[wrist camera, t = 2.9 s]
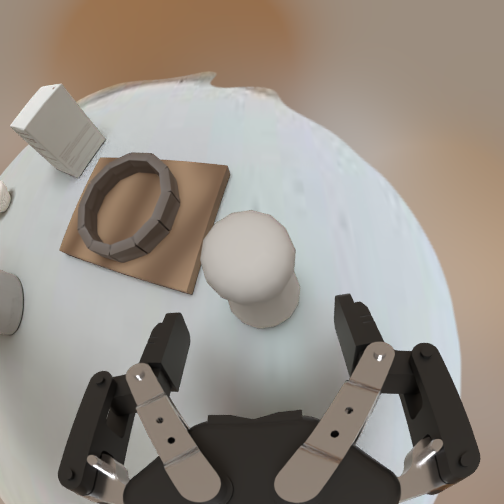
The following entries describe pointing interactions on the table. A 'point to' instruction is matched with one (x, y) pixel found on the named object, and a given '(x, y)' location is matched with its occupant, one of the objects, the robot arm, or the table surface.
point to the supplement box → (58, 129)
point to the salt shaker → (252, 267)
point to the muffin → (4, 197)
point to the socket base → (147, 217)
